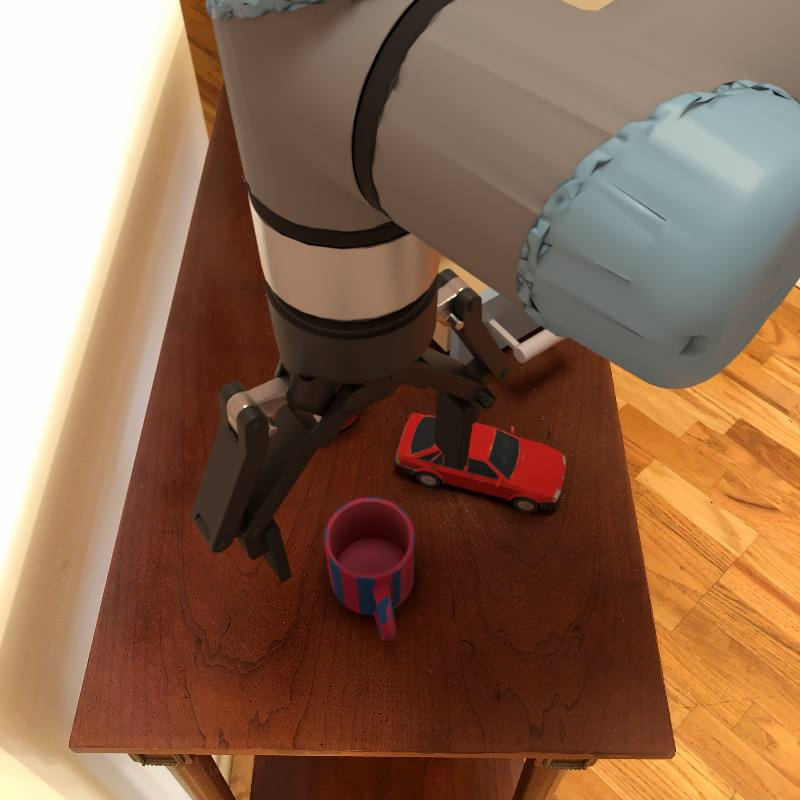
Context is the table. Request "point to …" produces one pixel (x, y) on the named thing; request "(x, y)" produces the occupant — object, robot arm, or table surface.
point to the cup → (371, 558)
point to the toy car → (486, 464)
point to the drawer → (495, 323)
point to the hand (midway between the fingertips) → (367, 506)
